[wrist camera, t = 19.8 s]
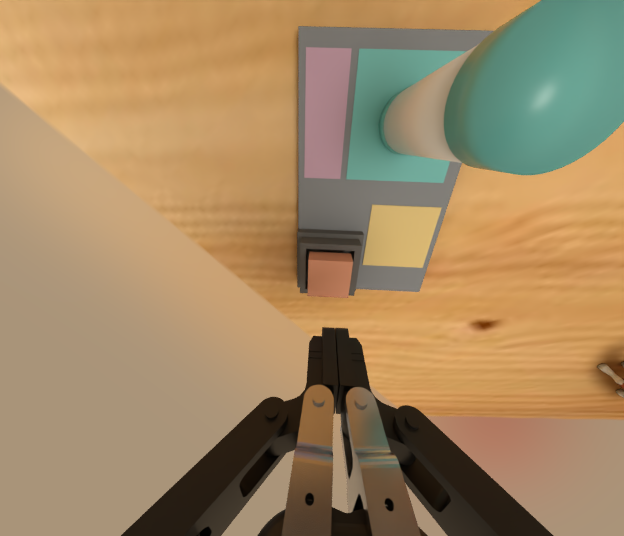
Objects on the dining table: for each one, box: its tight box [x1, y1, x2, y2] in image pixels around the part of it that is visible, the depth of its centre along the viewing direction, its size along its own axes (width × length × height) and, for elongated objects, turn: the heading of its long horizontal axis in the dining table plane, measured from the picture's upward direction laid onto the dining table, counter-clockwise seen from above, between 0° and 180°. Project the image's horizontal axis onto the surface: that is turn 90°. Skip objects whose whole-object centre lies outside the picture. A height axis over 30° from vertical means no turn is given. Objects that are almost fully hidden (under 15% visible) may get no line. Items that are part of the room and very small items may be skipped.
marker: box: [379, 0, 624, 175], centre depth 11 cm, size 4×4×12 cm
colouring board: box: [297, 26, 493, 296], centre depth 18 cm, size 20×13×4 cm, turn 178°
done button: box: [308, 252, 353, 298], centre depth 19 cm, size 4×4×2 cm
